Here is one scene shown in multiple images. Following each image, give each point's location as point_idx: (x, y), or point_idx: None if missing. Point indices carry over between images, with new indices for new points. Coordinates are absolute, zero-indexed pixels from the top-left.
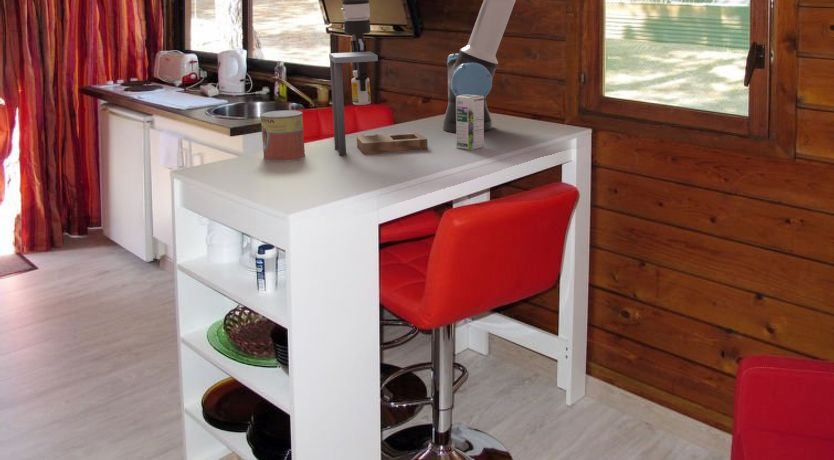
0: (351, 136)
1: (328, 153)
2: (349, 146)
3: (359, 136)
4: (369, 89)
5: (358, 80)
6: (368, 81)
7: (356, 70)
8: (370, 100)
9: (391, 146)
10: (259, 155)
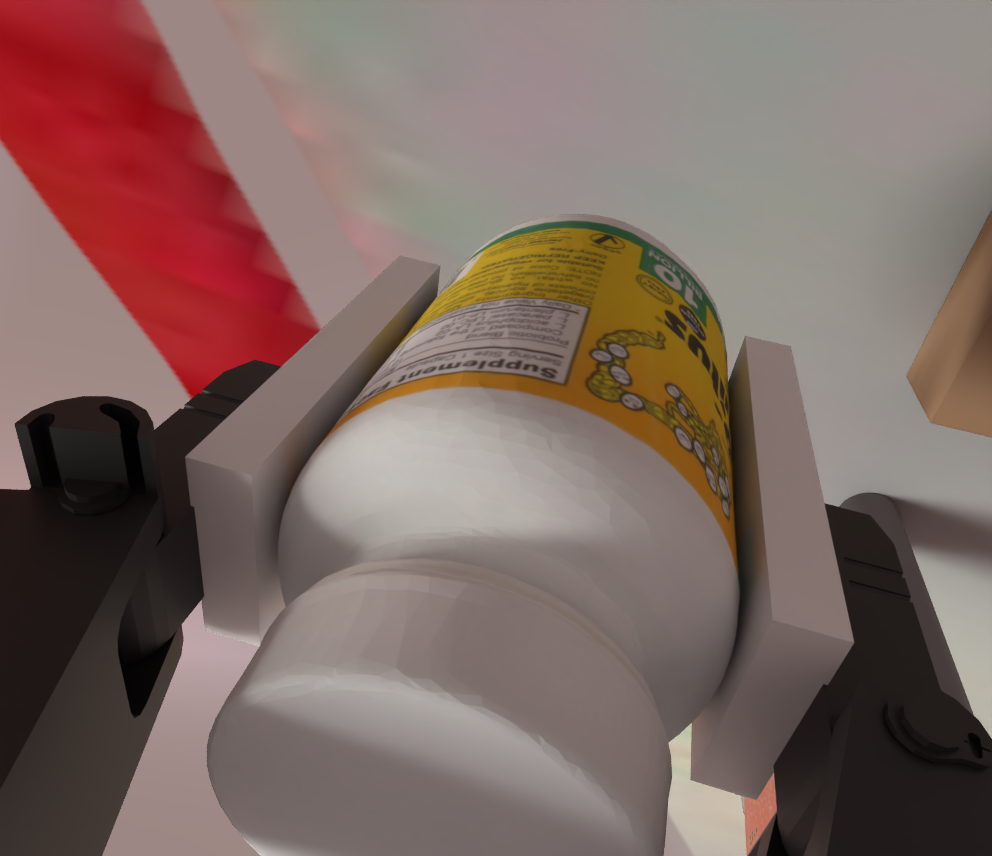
0: (403, 236)
1: (974, 622)
2: (830, 414)
3: (954, 402)
4: (678, 357)
5: (766, 777)
6: (686, 481)
7: (309, 852)
8: (664, 254)
9: None
10: (719, 849)
